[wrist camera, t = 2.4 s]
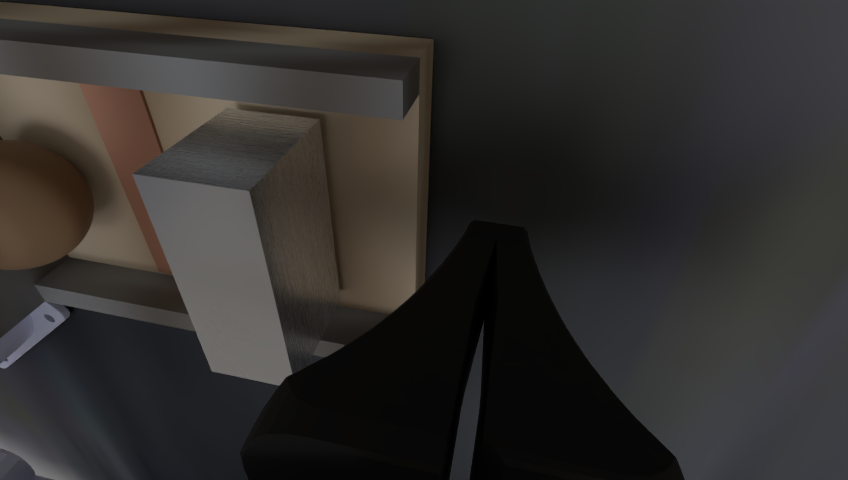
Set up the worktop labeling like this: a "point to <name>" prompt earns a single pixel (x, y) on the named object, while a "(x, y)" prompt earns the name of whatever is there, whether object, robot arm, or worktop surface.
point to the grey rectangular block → (248, 239)
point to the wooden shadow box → (175, 119)
